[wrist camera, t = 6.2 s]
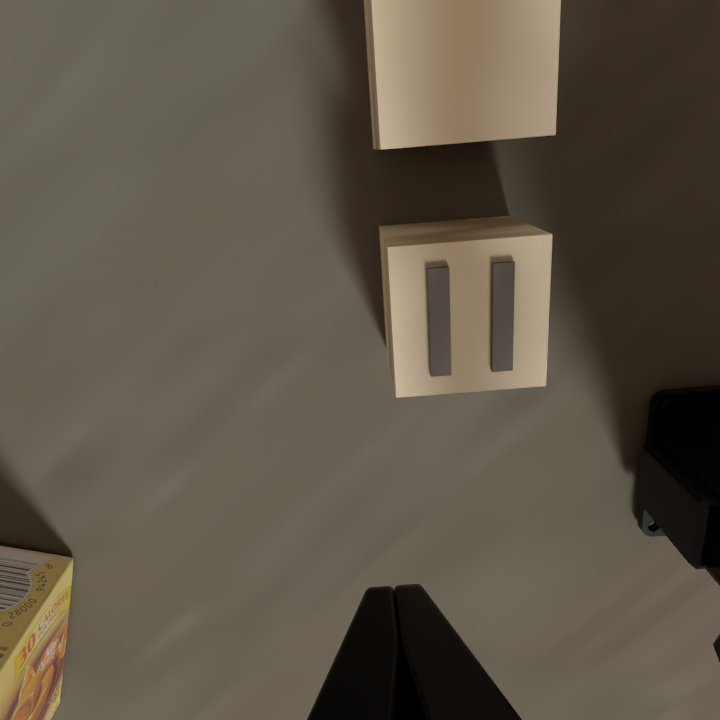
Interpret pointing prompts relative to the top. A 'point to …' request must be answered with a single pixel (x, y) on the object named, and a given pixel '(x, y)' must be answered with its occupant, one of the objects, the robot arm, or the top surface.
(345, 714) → the robot arm
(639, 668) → the top surface
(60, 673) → the candy box
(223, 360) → the top surface
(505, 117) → the plain block
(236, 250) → the top surface
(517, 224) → the two mark block
